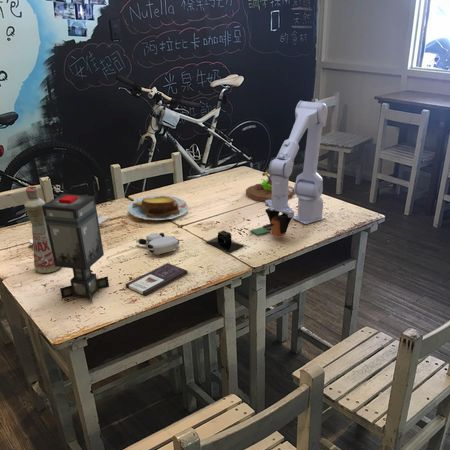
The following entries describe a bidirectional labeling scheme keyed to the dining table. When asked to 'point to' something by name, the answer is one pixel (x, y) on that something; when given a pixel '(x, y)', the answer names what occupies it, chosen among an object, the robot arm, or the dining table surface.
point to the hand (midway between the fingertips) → (278, 230)
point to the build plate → (225, 242)
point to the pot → (275, 227)
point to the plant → (264, 190)
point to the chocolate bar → (156, 279)
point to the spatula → (261, 231)
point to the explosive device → (75, 241)
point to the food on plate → (157, 207)
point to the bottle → (39, 232)
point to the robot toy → (159, 243)
